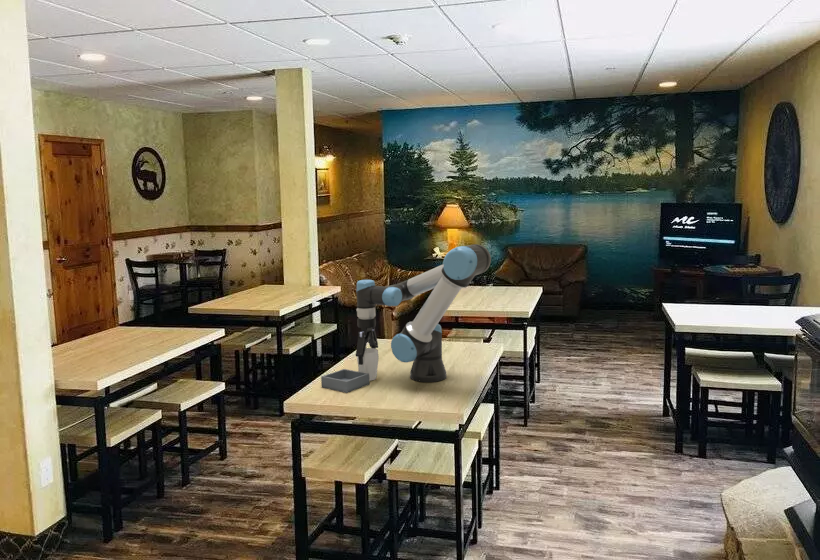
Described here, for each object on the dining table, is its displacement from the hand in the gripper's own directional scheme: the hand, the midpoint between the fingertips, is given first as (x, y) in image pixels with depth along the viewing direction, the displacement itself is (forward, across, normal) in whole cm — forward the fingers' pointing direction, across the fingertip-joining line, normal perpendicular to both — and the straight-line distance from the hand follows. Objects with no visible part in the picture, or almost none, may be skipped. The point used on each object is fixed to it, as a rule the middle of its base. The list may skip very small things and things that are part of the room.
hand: (367, 367), depth 281 cm
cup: (+5, 0, 0) cm, 5 cm away
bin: (+5, +12, -5) cm, 14 cm away
